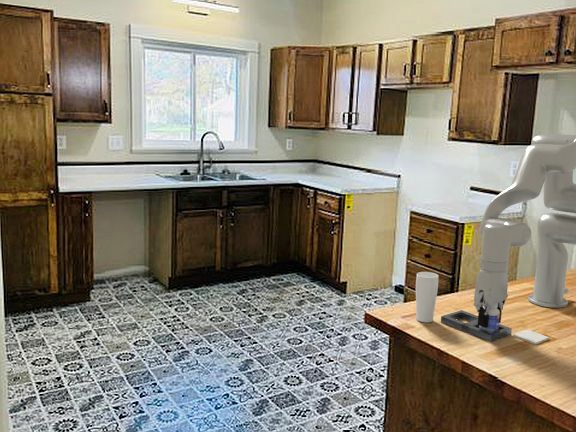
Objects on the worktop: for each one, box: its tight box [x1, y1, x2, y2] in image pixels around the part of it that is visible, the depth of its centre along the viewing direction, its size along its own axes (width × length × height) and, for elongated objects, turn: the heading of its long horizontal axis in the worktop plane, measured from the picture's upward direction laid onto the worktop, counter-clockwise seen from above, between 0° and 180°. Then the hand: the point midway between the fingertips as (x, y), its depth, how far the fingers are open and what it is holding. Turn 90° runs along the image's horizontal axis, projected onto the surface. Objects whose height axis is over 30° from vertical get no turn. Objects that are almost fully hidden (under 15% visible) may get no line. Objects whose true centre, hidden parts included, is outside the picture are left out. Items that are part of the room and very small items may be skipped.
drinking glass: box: [415, 271, 439, 323], centre depth 170 cm, size 7×7×15 cm
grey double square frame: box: [440, 309, 513, 343], centre depth 165 cm, size 10×18×2 cm, turn 35°
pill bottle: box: [479, 301, 500, 333], centre depth 161 cm, size 5×5×10 cm
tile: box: [512, 329, 550, 346], centre depth 159 cm, size 7×7×1 cm
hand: (489, 323), depth 161 cm, fingers closed on pill bottle, 5 cm apart
